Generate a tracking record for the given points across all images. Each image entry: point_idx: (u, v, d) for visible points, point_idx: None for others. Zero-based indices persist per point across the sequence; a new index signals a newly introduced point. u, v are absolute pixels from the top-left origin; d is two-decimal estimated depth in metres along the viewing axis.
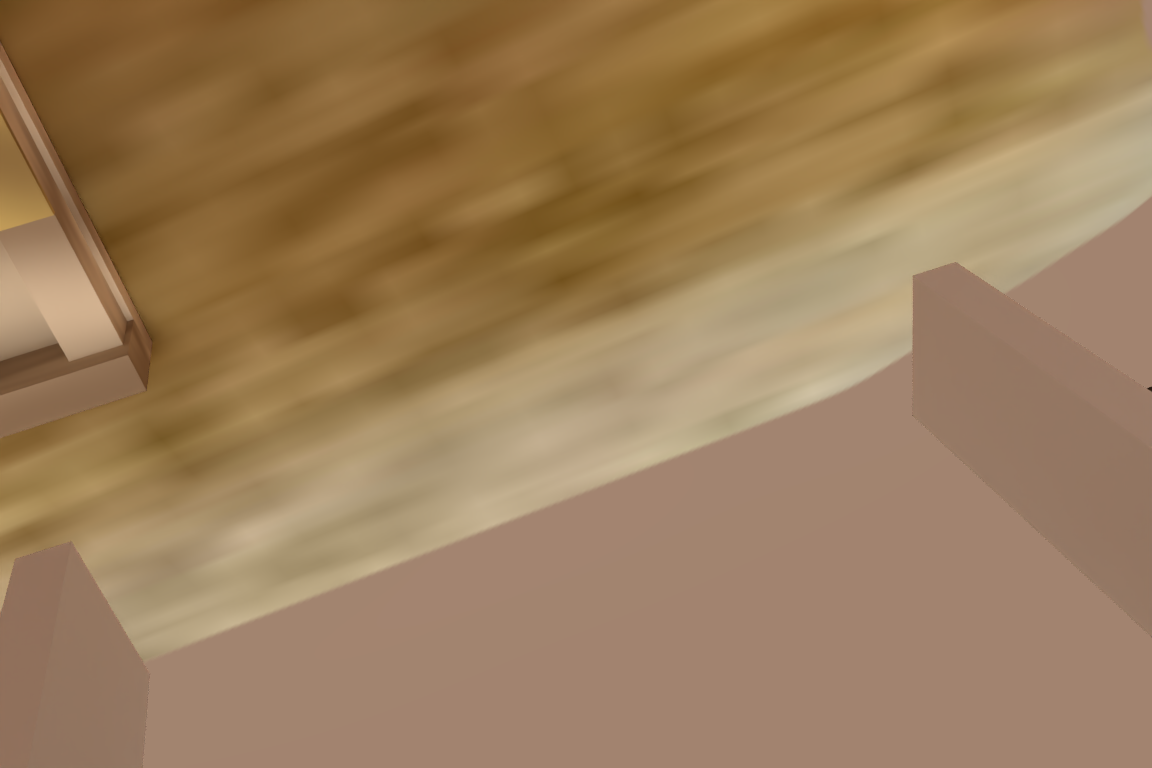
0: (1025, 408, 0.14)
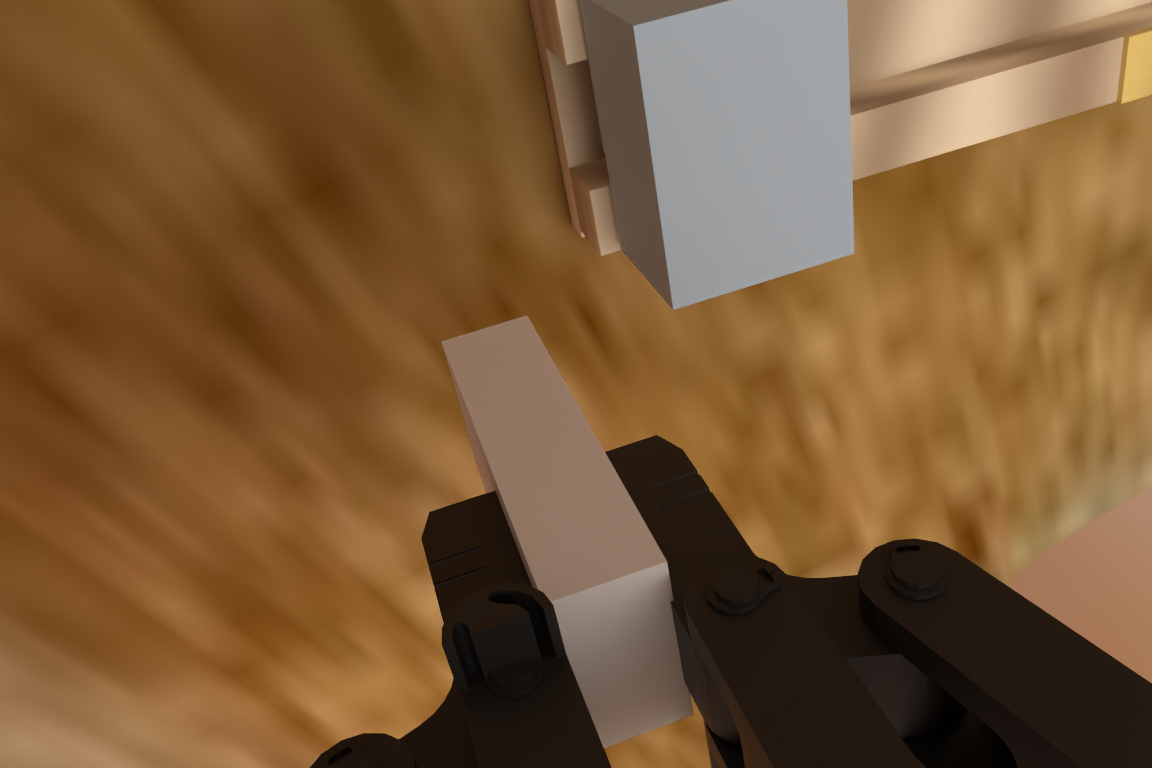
0: None
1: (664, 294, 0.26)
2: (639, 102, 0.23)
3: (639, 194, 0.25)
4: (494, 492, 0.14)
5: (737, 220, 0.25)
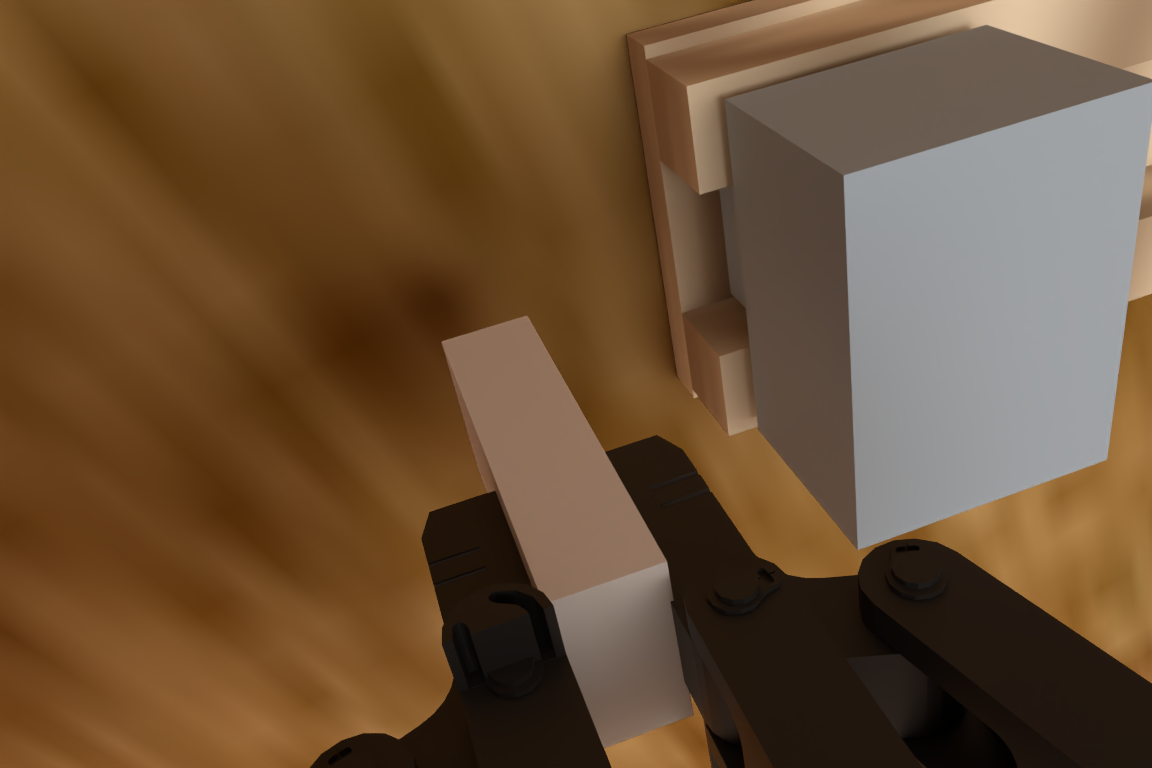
0: None
1: (841, 523, 0.18)
2: (836, 278, 0.15)
3: (811, 387, 0.18)
4: (494, 492, 0.14)
5: (958, 430, 0.17)
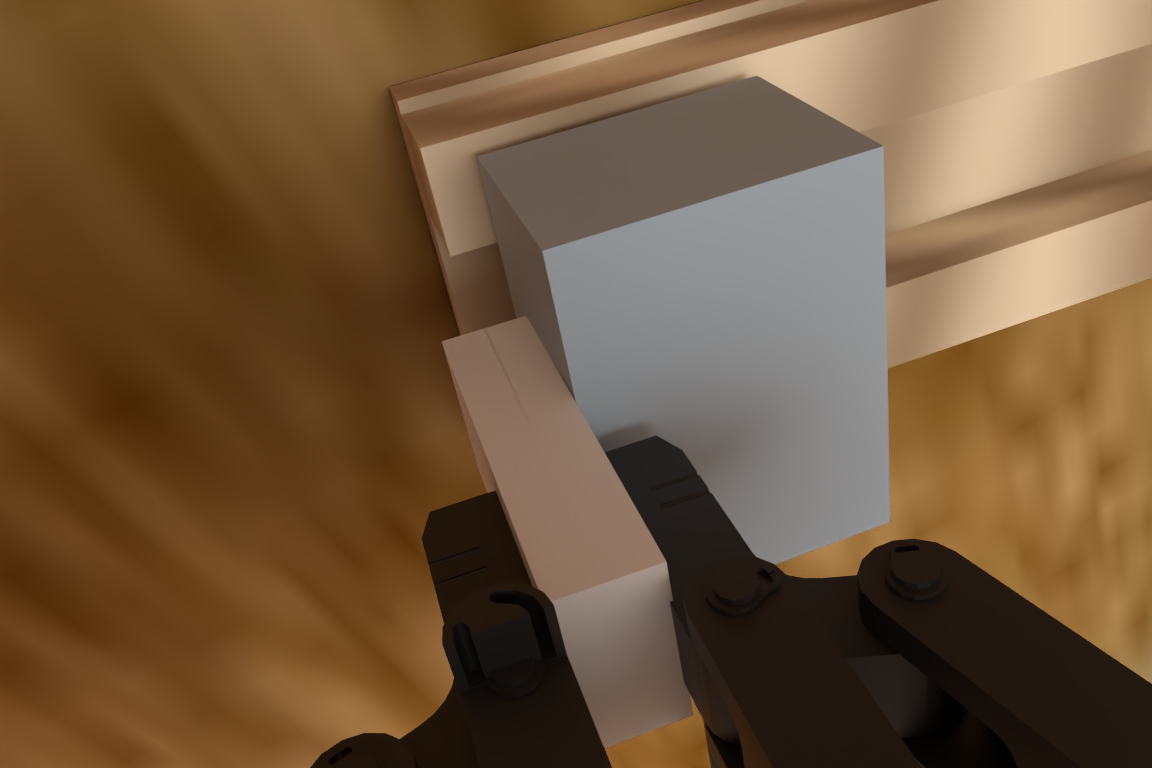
0: None
1: None
2: (560, 351, 0.15)
3: None
4: (494, 492, 0.14)
5: (717, 498, 0.17)
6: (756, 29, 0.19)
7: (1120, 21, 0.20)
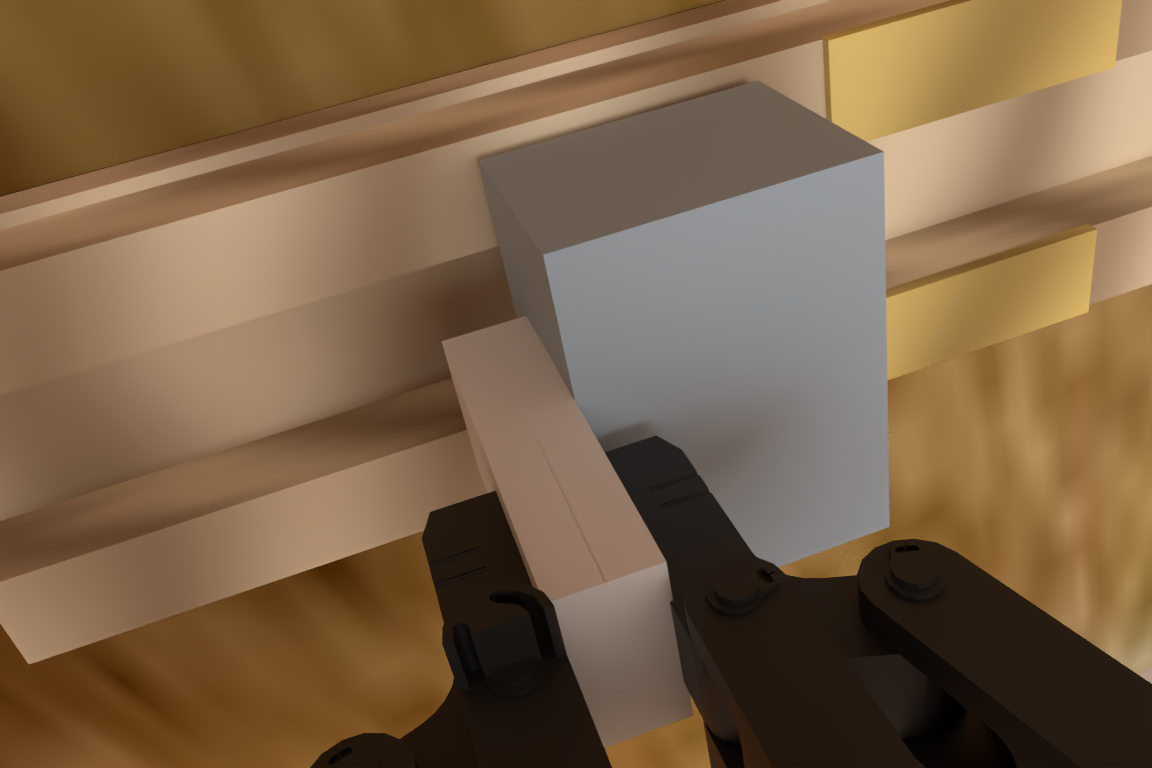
0: None
1: None
2: (560, 354, 0.15)
3: None
4: (494, 492, 0.14)
5: None
6: (230, 181, 0.17)
7: None
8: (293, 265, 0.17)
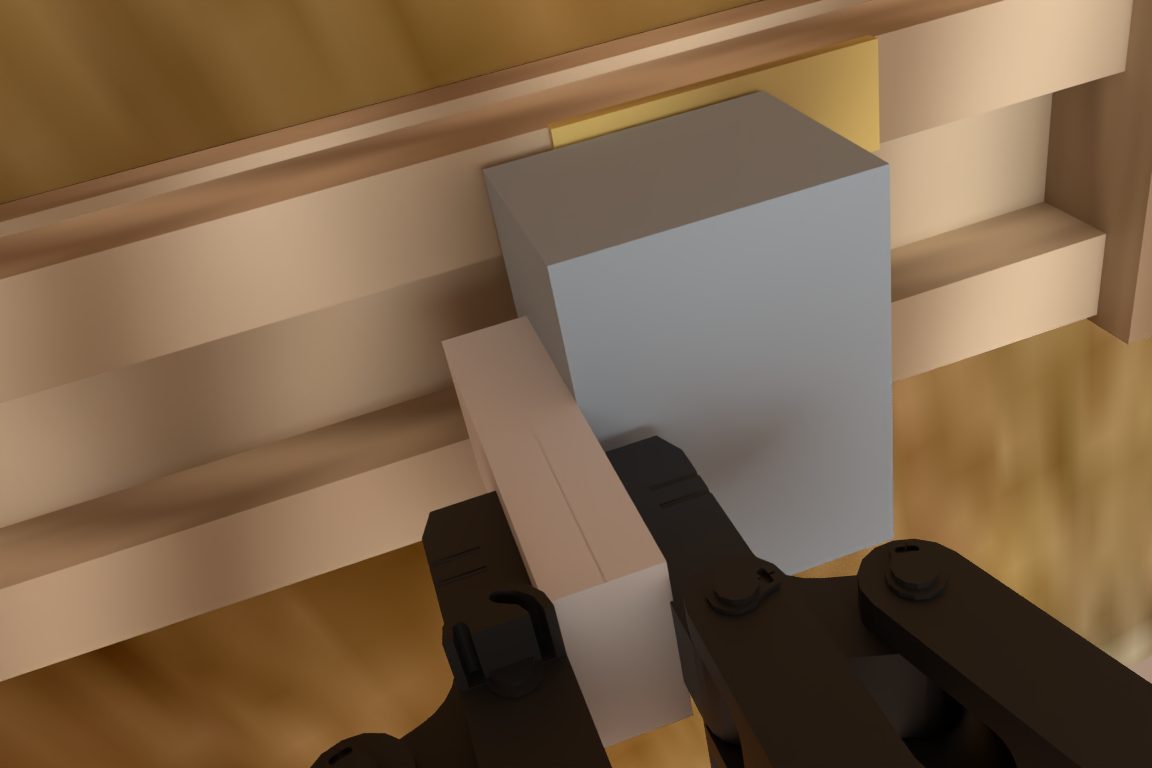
0: None
1: None
2: (564, 366, 0.15)
3: None
4: (494, 492, 0.14)
5: None
6: None
7: (366, 259, 0.17)
8: None
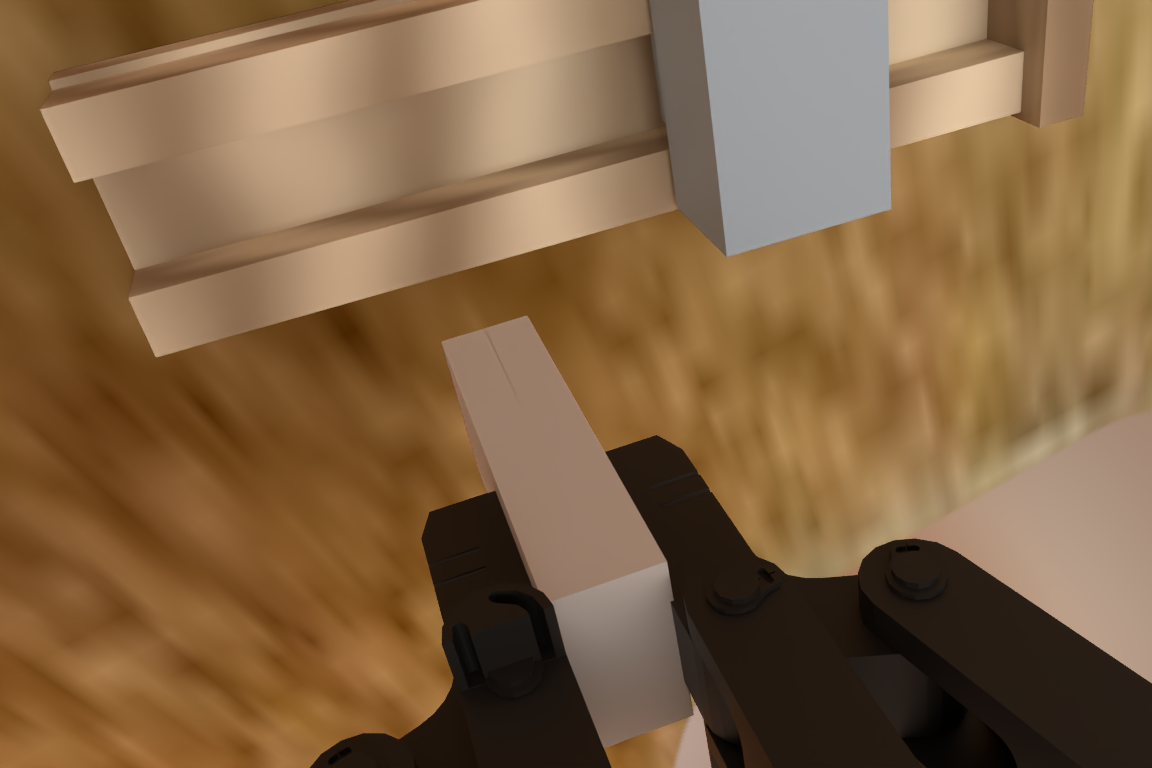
0: None
1: (718, 243, 0.29)
2: (701, 67, 0.26)
3: (697, 153, 0.28)
4: (494, 492, 0.14)
5: (786, 175, 0.28)
6: (293, 37, 0.28)
7: (554, 34, 0.29)
8: (331, 88, 0.28)
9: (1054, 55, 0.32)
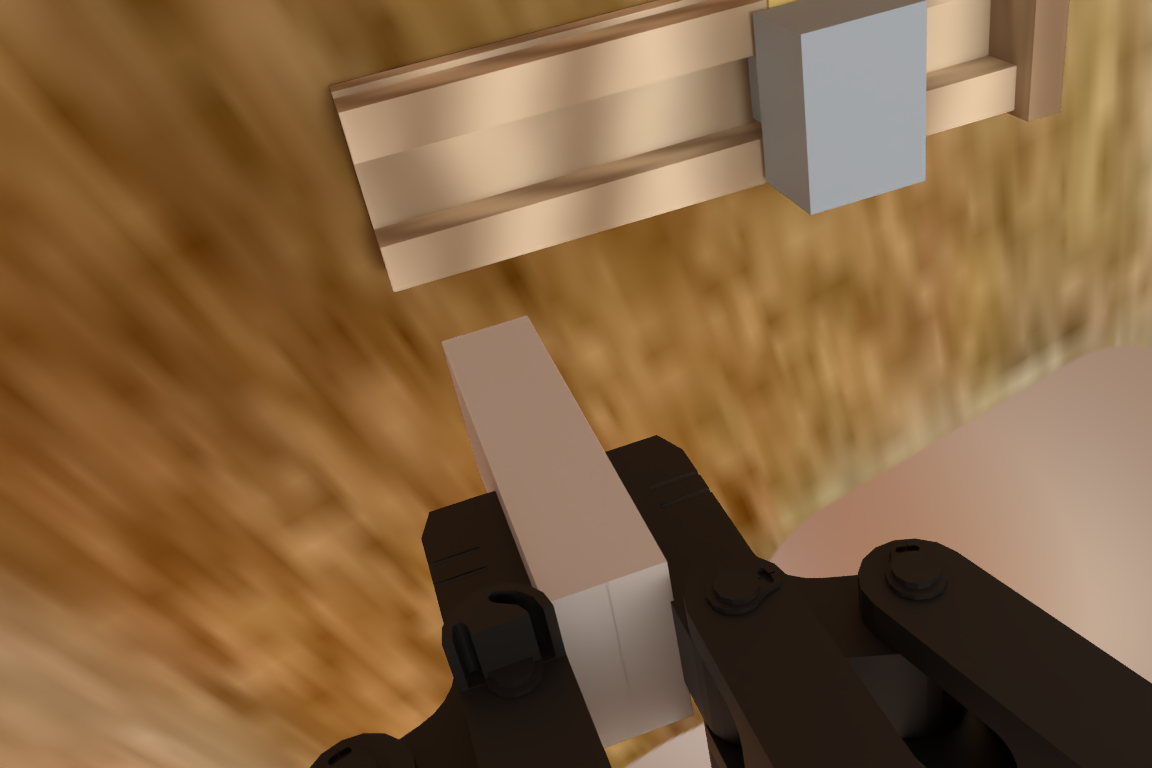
0: None
1: (804, 205, 0.41)
2: (799, 81, 0.38)
3: (790, 141, 0.40)
4: (494, 492, 0.14)
5: (854, 156, 0.40)
6: (503, 60, 0.40)
7: (686, 57, 0.40)
8: (532, 96, 0.39)
9: (1039, 68, 0.44)
